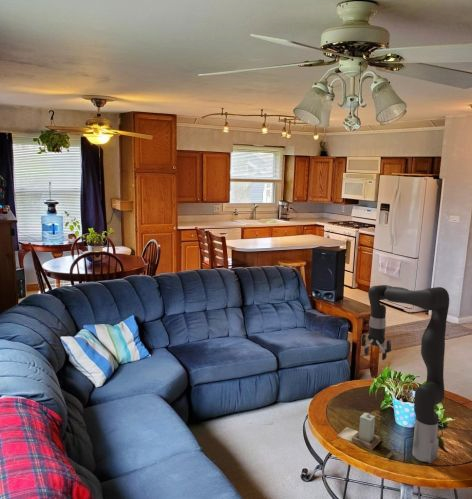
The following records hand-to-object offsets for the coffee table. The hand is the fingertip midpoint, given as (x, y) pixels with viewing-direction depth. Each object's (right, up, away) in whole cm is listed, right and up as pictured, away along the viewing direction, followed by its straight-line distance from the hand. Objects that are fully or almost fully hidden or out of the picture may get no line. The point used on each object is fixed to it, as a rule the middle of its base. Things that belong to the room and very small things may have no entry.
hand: (375, 357), depth 223 cm
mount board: (-12, -35, -13) cm, 40 cm away
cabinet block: (-9, -35, -16) cm, 39 cm away
